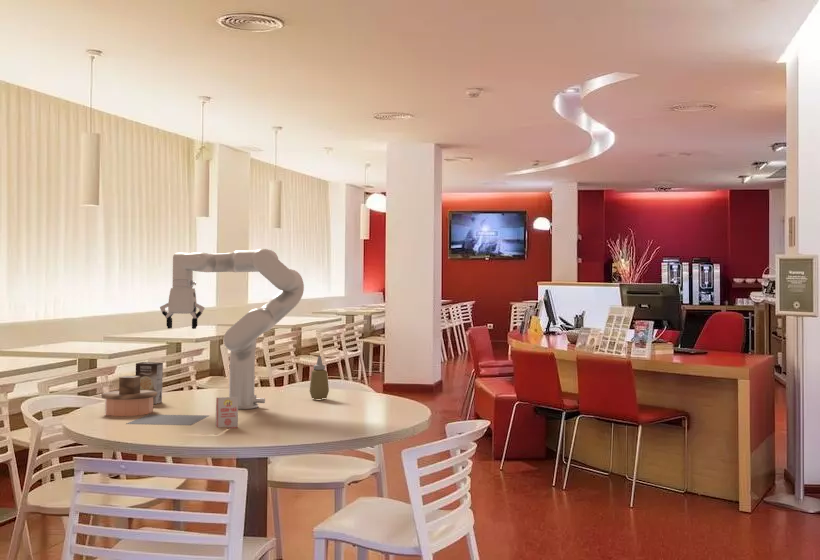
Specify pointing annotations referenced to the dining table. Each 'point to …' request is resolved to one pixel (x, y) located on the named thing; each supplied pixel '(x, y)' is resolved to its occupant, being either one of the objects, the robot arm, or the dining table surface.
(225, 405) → the red and white carton
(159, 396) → the coffee box
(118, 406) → the bowl
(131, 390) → the lid
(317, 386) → the squeeze bottle
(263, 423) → the dining table surface
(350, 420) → the dining table surface
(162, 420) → the mat
